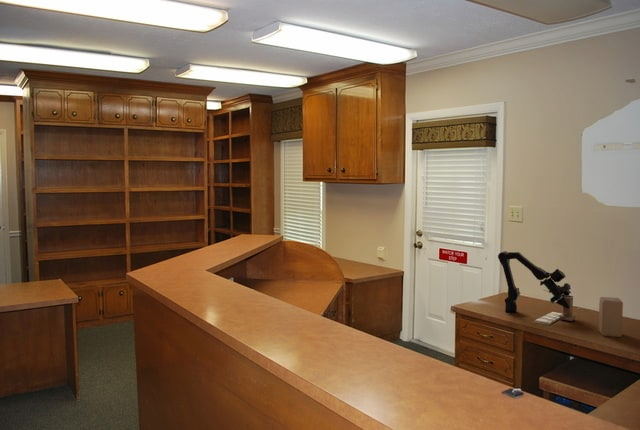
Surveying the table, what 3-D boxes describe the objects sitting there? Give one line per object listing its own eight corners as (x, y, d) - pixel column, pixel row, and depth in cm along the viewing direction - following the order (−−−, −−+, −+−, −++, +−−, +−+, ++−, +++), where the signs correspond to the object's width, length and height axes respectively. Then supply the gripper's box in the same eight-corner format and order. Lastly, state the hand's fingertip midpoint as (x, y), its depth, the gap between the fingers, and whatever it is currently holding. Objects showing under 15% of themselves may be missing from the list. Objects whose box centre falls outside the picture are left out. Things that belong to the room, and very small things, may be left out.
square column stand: (559, 318, 316) (560, 296, 315) (563, 316, 321) (564, 294, 320) (571, 321, 311) (572, 298, 310) (575, 318, 316) (576, 296, 315)
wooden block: (618, 332, 292) (619, 297, 290) (622, 337, 282) (623, 301, 281) (598, 330, 295) (599, 296, 293) (601, 336, 286) (602, 300, 284)
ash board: (548, 325, 307) (548, 322, 307) (534, 322, 313) (534, 320, 313) (565, 316, 325) (565, 314, 325) (552, 313, 331) (552, 311, 331)
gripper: (556, 281, 310) (574, 303, 304) (568, 277, 323) (586, 297, 316) (542, 292, 317) (560, 313, 310) (554, 287, 330) (572, 307, 323)
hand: (570, 307), depth 315 cm, fingers closed on square column stand, 4 cm apart
